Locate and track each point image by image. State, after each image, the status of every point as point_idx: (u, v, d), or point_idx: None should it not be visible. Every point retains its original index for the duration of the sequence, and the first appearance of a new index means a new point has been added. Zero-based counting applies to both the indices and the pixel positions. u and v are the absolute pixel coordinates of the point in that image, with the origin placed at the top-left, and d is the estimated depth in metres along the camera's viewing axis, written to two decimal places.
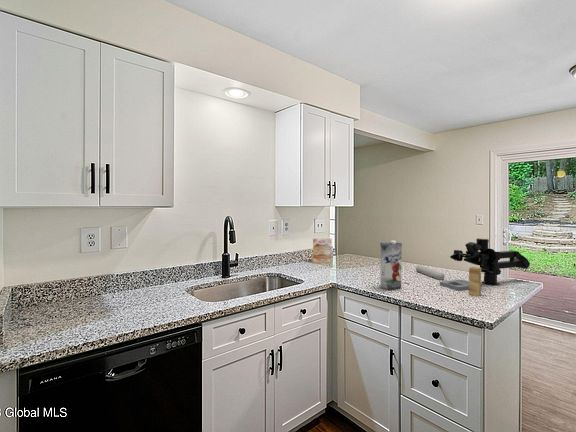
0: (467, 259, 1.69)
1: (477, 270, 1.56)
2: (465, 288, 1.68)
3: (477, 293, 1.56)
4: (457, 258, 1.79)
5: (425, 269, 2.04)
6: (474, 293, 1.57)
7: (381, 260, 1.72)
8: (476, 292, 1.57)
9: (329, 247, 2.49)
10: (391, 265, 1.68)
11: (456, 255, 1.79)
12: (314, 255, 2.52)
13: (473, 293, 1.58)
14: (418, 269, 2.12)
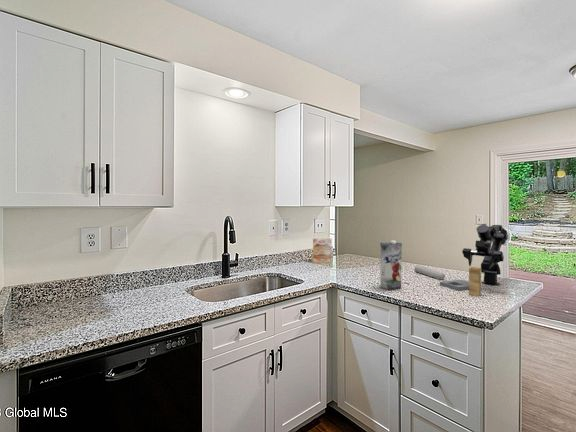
0: (491, 265, 1.61)
1: (477, 270, 1.56)
2: (465, 288, 1.68)
3: (477, 293, 1.56)
4: (471, 258, 1.71)
5: (425, 269, 2.04)
6: (474, 293, 1.57)
7: (381, 260, 1.72)
8: (476, 292, 1.57)
9: (329, 247, 2.49)
10: (391, 265, 1.68)
11: (470, 258, 1.70)
12: (314, 255, 2.52)
13: (473, 293, 1.58)
14: (417, 269, 2.11)
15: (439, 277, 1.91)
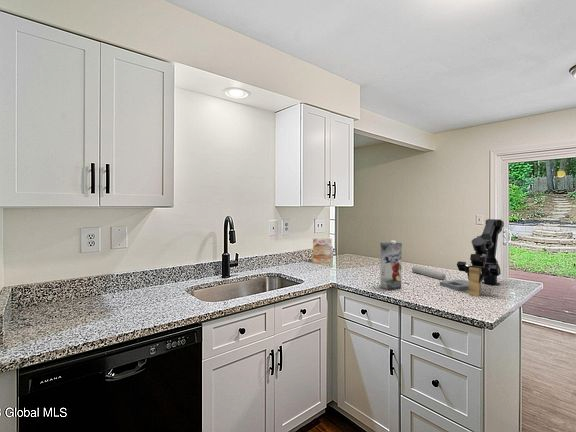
0: (481, 279, 1.57)
1: (477, 270, 1.56)
2: (465, 288, 1.68)
3: (477, 293, 1.56)
4: None
5: (424, 269, 2.04)
6: (474, 293, 1.57)
7: (381, 260, 1.72)
8: (476, 292, 1.57)
9: (329, 247, 2.49)
10: (391, 265, 1.68)
11: None
12: (314, 255, 2.52)
13: (473, 293, 1.58)
14: (415, 269, 2.10)
15: (440, 277, 1.91)
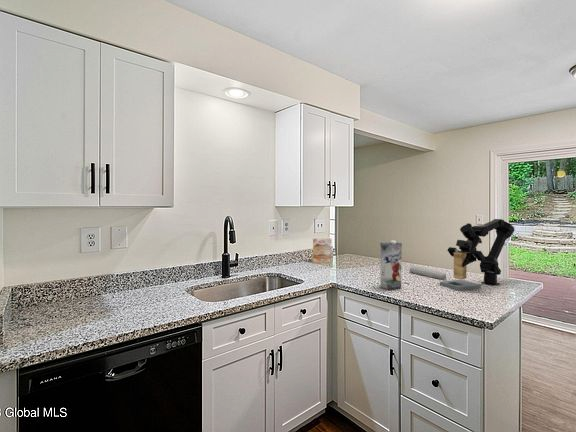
0: (465, 263, 1.66)
1: (460, 255, 1.66)
2: (465, 288, 1.68)
3: (460, 276, 1.66)
4: None
5: (422, 269, 2.03)
6: (458, 276, 1.67)
7: (381, 260, 1.72)
8: (459, 276, 1.67)
9: (329, 247, 2.49)
10: (391, 265, 1.68)
11: None
12: (314, 255, 2.52)
13: (457, 276, 1.68)
14: (412, 270, 2.09)
15: (441, 277, 1.91)
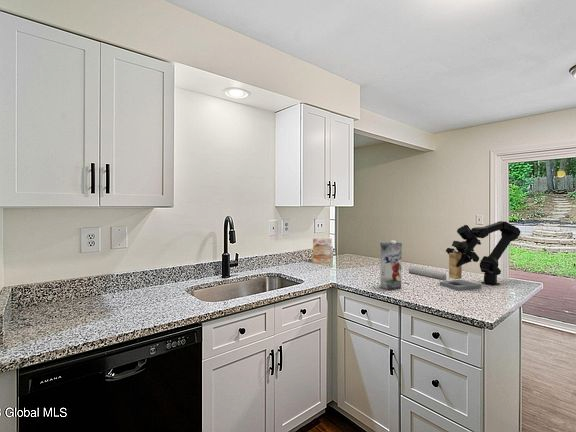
0: (459, 263, 1.70)
1: (454, 255, 1.71)
2: (465, 288, 1.68)
3: (454, 276, 1.71)
4: None
5: (422, 269, 2.03)
6: (452, 276, 1.73)
7: (381, 260, 1.72)
8: (453, 275, 1.72)
9: (329, 247, 2.49)
10: (391, 265, 1.68)
11: None
12: (314, 255, 2.52)
13: (452, 276, 1.73)
14: (412, 270, 2.09)
15: (442, 277, 1.91)
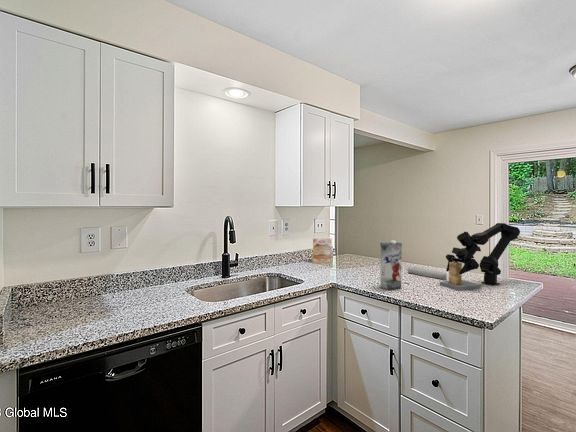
0: (462, 271, 1.68)
1: (454, 264, 1.71)
2: (465, 288, 1.68)
3: None
4: None
5: (422, 269, 2.02)
6: None
7: (381, 260, 1.72)
8: None
9: (329, 247, 2.49)
10: (391, 265, 1.68)
11: None
12: (314, 255, 2.52)
13: None
14: (411, 270, 2.08)
15: (443, 277, 1.91)
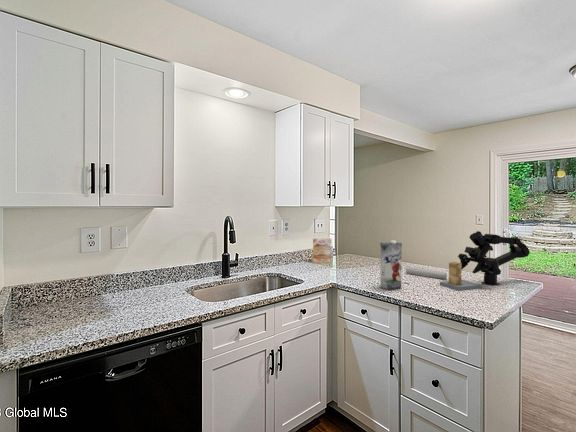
0: (475, 270, 1.71)
1: (454, 264, 1.71)
2: (465, 288, 1.68)
3: None
4: (465, 263, 1.82)
5: (421, 270, 2.01)
6: None
7: (381, 260, 1.72)
8: None
9: (329, 247, 2.49)
10: (391, 265, 1.68)
11: (463, 263, 1.81)
12: (314, 255, 2.52)
13: None
14: (409, 271, 2.06)
15: (443, 277, 1.91)
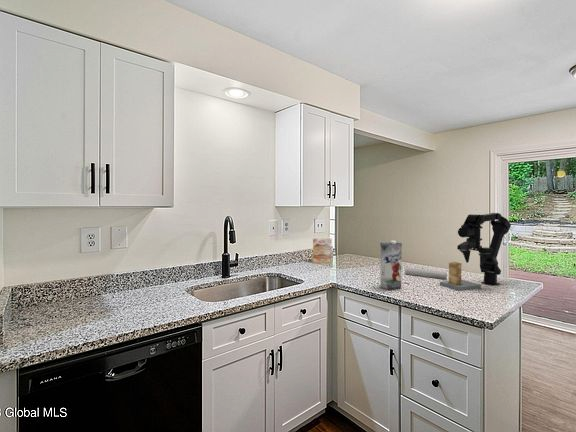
0: (482, 262, 1.69)
1: (454, 264, 1.71)
2: (465, 288, 1.68)
3: None
4: (468, 252, 1.79)
5: (421, 270, 2.01)
6: None
7: (381, 260, 1.72)
8: None
9: (329, 247, 2.49)
10: (391, 265, 1.68)
11: (466, 254, 1.79)
12: (314, 255, 2.52)
13: None
14: (409, 271, 2.04)
15: (444, 277, 1.92)
